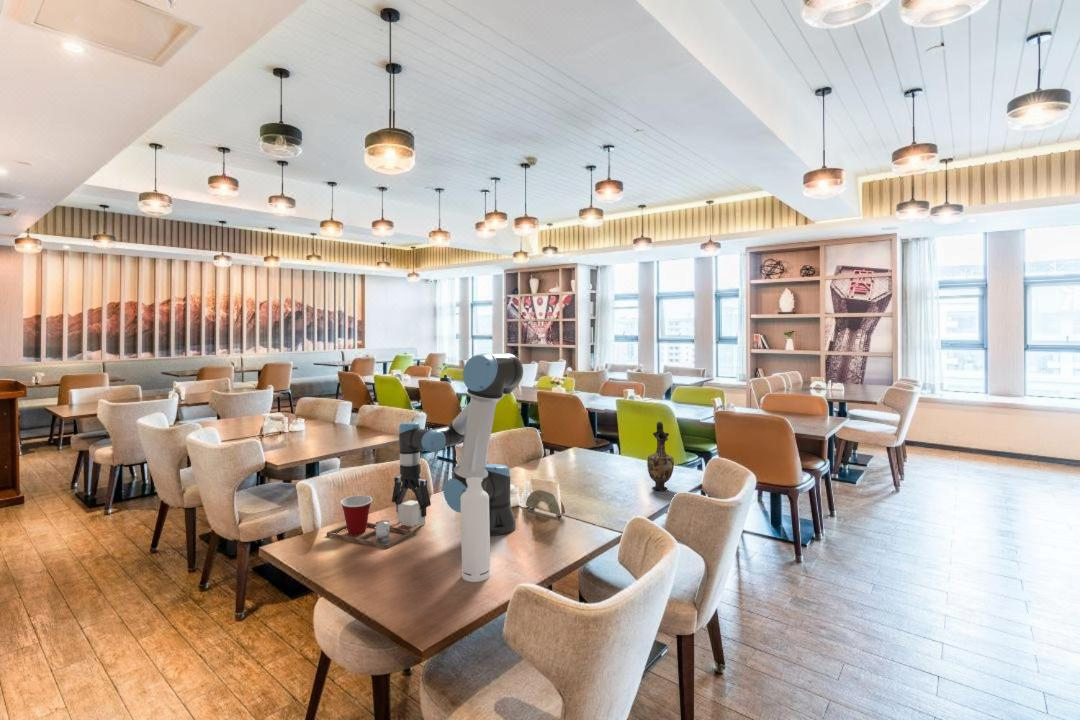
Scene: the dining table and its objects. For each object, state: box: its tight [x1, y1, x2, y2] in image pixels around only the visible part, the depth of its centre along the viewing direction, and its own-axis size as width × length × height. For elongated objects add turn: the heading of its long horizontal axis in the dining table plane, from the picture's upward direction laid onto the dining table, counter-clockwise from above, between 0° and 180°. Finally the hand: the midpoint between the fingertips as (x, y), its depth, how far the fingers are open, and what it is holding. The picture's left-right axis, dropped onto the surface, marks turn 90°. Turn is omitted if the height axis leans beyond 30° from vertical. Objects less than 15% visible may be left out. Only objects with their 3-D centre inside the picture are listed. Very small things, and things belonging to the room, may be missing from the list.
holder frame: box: [326, 521, 416, 550], centre depth 185 cm, size 28×14×1 cm, turn 63°
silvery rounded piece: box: [374, 519, 391, 544], centre depth 178 cm, size 4×4×7 cm
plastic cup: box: [340, 495, 373, 536], centre depth 188 cm, size 11×11×12 cm
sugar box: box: [401, 499, 420, 528], centre depth 196 cm, size 5×5×8 cm
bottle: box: [460, 477, 491, 583], centre depth 151 cm, size 8×8×28 cm
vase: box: [646, 421, 675, 492], centre depth 237 cm, size 12×12×30 cm
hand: (411, 523), depth 197 cm, fingers open, 9 cm apart
